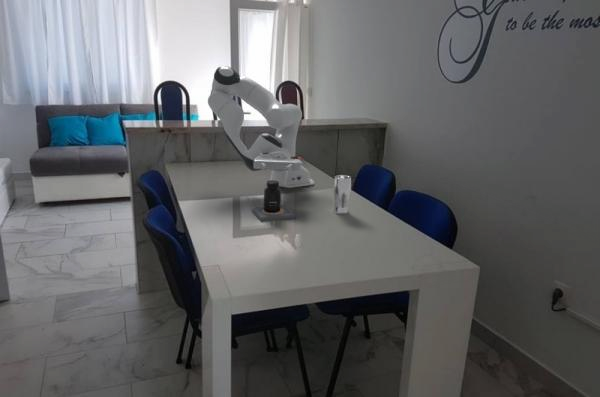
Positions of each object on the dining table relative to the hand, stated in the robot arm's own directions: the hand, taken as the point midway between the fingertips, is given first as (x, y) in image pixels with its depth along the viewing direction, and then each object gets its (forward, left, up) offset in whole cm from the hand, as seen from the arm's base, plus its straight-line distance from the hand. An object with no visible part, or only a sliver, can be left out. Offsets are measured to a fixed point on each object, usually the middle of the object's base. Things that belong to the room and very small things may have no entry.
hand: (275, 168), depth 193 cm
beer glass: (-24, +13, -17) cm, 33 cm away
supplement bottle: (+4, +8, -16) cm, 18 cm away
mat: (+4, +8, -17) cm, 19 cm away
